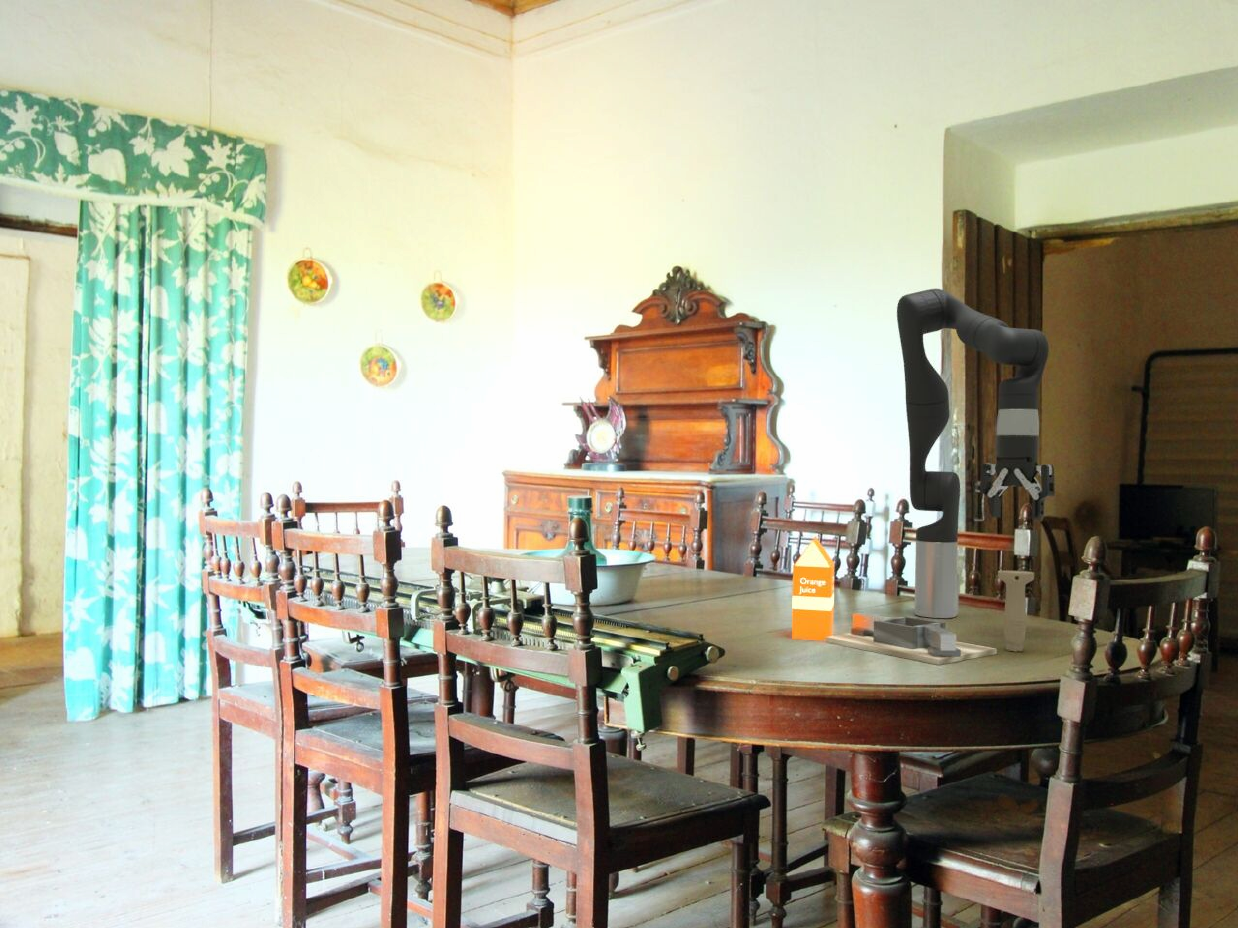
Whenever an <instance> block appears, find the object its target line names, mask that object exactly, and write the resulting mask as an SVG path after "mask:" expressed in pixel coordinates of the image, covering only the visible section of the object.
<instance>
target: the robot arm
mask: <svg viewBox="0 0 1238 928" xmlns="http://www.w3.org/2000/svg"><path fill="white" fill-rule="evenodd" d="M896 318H897V319H896V321H897V328H898V334H899V341H900V347H901V348H900V349H901V354H902V360H903V370H904V371H903V372H904V386H905V388H904V389H905V406H906V407H905V410H906V411H905V412H906V421H907V431H908V443H909V496H910V502H911V506H912V507H913V509H915V510H916V511H920V512H921V511H922V512H923V511H924V512H927V511H928V512H942V516H941V517H940V518H939V519H938V520H936V521H935V522H932V523H930V524H925V525H922V526H919V527H918V528H917V529H916V531H915V570H914V571H915V573H914V577H915V578H914V583H915V584H914V615H916V616H919V617H923V618H925V617H926V618H932V619H933V618H934V619H951V618H955V617H956V616H958V615H959V597H960V596H959V595H960V593H959V589H960V586H959V584H960V583H959V581H960V575H959V574H958V546H959V545H958V539H959V512H960V511H959V510H960V501H961V500H960V498H961V480H960V477H959V474H958V473H957V472H955V471H939V470H938V471H935V470H934V471H933V470H932V471H931V470H927V469H926V464H927V463H926V461H927V458H928V456H929V454H930V452H931V450H932V449H933V447H934V445H935V443H936V442H937V441H938V439H939V437H940V436H941V434H942V433H943V431H944V430H945V428H946V426H947V424H948V423H949V419H950V401H949V399H950V398H949V390H948V387H947V384H946V382H945V381H944V379H943V378H942V376H941V375H940V373H939V372H937V370H936V369H935V367H934V366H933V365H932V363H931V362H930V360H929V359H928V357H927V354H926V351H925V350H926V349H925V344H924V335H926V334H930V333H934V332H939V331H941V330H944V329H951V330H955V332H956V334H957V337H958V338H959V340H960V342H961V343H963V344H964V345H965V346H968V347H969V348H971V349H974V350H975V351H978V352H981V353H983V354H984V355H986V356H987V357H988V358H989V359H990V360H991V361H993V362H995V363H997V364H1000V365H1003V366H1004V365H1005V366H1015V367H1016V366H1018V369H1017V372H1016V373H1015V376H1013V377H1011V378H1006V379H1003V380H1001V382H1000V383H999V387H998V412H997V413H998V414H997V419H996V436H995V437H996V441H995V442H996V446H995V447H996V448H995V456H996V460H997V461H996V463H995V464H993V463H990V462H989V463H986V462H985V463H982V464H981V468H980V480H979V481H980V482H979V493H980V494H981V495H985V496H986V497H988V503H989V504H988V513H989V514H990V517H992V518H1001V515H1002V514H1001V512H1002V510H1001V509H1002V508H1001V507H1002V497H1001V495H1002V494H1003V492H1004V491H1005V490H1007V488H1009V487H1017V488H1024V489H1025V490H1026V491H1028V493H1029V494H1030V496H1031V498H1032V499H1033V500H1031V520H1033V521H1041V520H1042V518H1043V517H1044V515H1045V500H1046V499H1048V498H1050V497H1054V496H1055V494H1056V490H1055V484H1056V483H1055V467H1054V465H1052V464H1042V465H1039V463H1038V459H1039V458H1038V457H1039V445H1040V443H1039V441H1040V440H1039V439H1040V436H1039V435H1040V434H1039V433H1040V419H1039V410H1038V409H1039V387H1040V385H1041V382H1042V377H1043V375H1044V371H1045V367H1046V364H1047V361H1048V358H1049V357H1048V356H1049V351H1050V349H1049V348H1050V347H1049V342H1048V339H1047V337H1046V334H1044V333H1043V332H1042V331H1041V330H1038V329H1032V328H1031V329H1029V328H1018V327H1016V328H1015V327H1010V326H1009V325H1008V324H1007V323H1006V322H1004V321H1002V320H1000V319H998V318H996V317H992V316H990V315H987V314H985V313H982V312H979V311H977V310H975V309H973V308H971V307H970V306H968V305H967V304H966V303H965V302H963V301H961V300H960V299H958V298H957V297H955V296H954V295H952V294H951V293H949V292H947V291H946V290H944V289H941V288H929V289H923V290H920V291H916V292H912V293H908V294H907V293H906V294H905V295H903V296H901V297H900V298H899V300H898V302H897V306H896ZM995 473H996V475H998V476H997V477H996V479H995V480H994V475H995ZM1037 474H1039V476H1040V479H1041V481H1040V482H1039V481H1038V480H1037V477H1036V476H1037ZM1000 497H1001V498H1000Z"/></svg>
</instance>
